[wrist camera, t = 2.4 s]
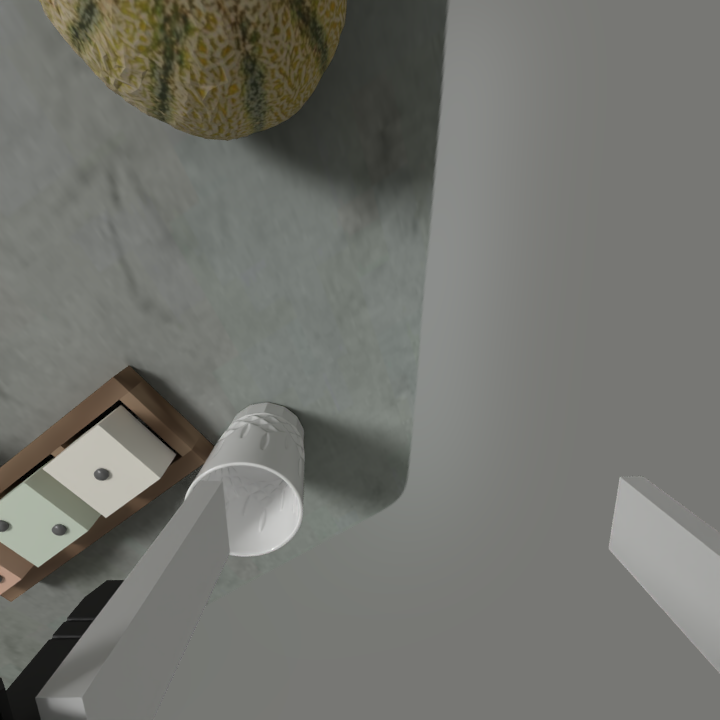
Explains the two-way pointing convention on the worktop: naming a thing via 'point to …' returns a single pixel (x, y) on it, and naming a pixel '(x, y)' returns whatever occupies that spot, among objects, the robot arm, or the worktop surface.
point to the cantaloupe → (206, 56)
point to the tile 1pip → (111, 462)
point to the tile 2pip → (43, 517)
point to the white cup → (259, 478)
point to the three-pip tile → (11, 567)
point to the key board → (67, 430)
